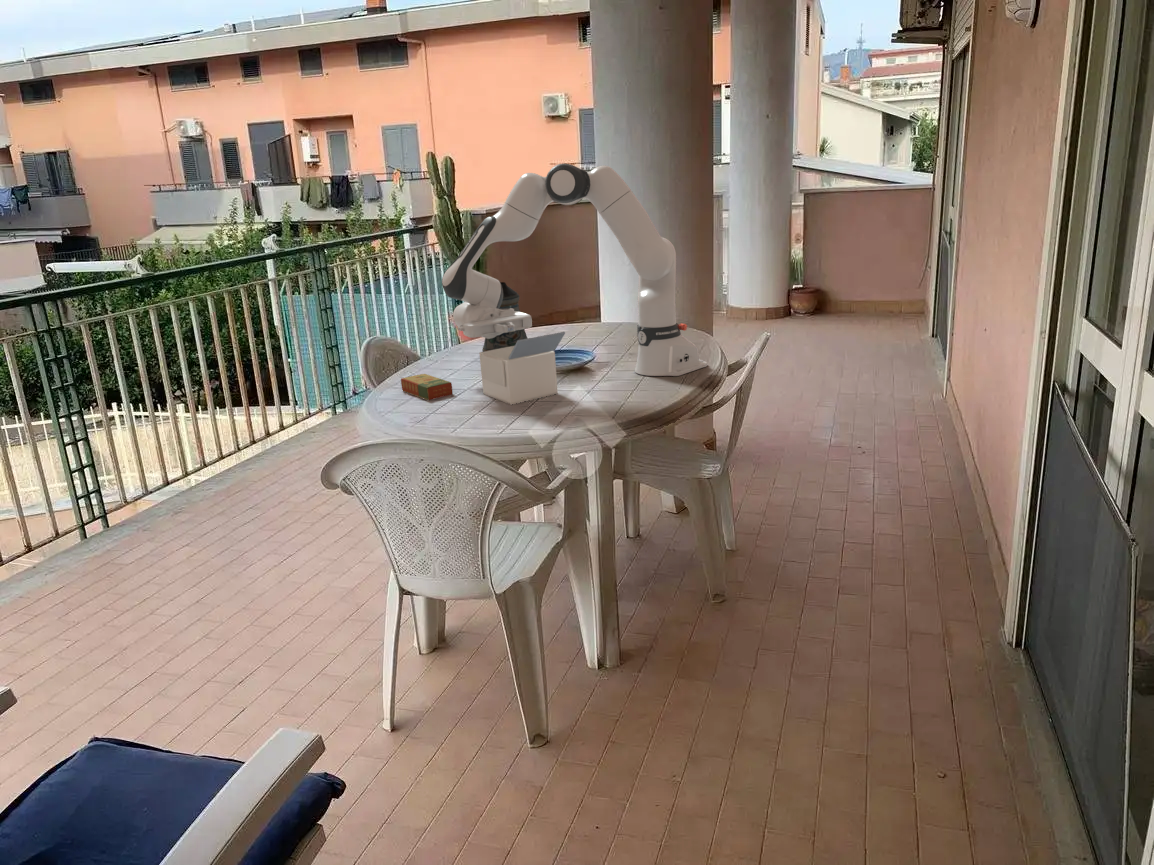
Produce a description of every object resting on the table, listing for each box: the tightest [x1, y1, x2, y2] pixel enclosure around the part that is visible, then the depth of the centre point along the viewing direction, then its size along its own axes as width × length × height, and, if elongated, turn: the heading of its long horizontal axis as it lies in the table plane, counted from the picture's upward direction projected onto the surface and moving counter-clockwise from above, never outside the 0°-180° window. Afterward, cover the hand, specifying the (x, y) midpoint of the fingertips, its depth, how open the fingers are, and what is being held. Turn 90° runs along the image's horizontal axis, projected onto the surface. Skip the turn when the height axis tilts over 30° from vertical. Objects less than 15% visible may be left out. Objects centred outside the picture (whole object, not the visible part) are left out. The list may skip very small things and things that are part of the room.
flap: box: [509, 331, 566, 359], centre depth 219 cm, size 14×8×1 cm
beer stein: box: [481, 281, 528, 352], centre depth 275 cm, size 16×19×25 cm
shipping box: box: [479, 346, 559, 406], centre depth 231 cm, size 16×17×12 cm
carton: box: [400, 373, 453, 401], centre depth 240 cm, size 8×16×4 cm, turn 39°
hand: (510, 328), depth 228 cm, fingers closed
